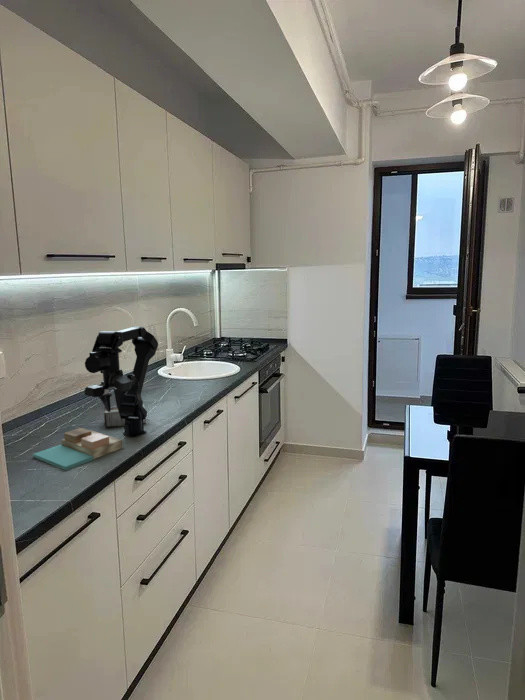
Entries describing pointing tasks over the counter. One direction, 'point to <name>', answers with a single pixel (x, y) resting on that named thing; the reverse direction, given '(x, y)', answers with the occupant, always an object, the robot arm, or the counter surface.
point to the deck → (97, 452)
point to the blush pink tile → (95, 441)
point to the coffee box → (114, 417)
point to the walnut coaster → (76, 435)
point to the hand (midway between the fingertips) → (114, 410)
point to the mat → (63, 457)
